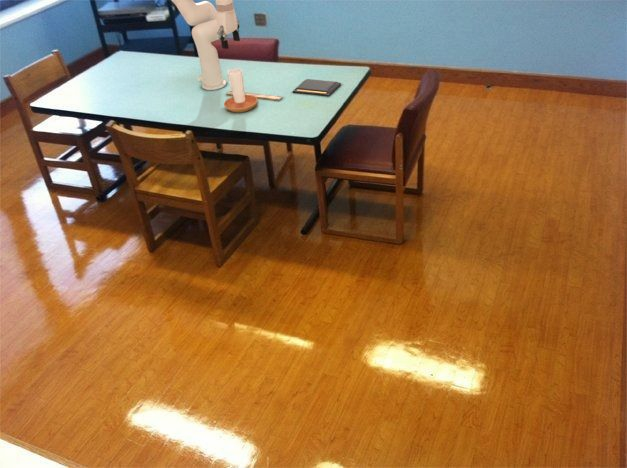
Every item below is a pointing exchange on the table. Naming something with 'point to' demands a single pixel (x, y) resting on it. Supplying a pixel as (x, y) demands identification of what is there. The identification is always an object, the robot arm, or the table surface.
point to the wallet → (317, 87)
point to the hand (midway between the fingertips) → (231, 44)
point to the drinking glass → (237, 84)
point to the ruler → (260, 96)
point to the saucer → (241, 104)
